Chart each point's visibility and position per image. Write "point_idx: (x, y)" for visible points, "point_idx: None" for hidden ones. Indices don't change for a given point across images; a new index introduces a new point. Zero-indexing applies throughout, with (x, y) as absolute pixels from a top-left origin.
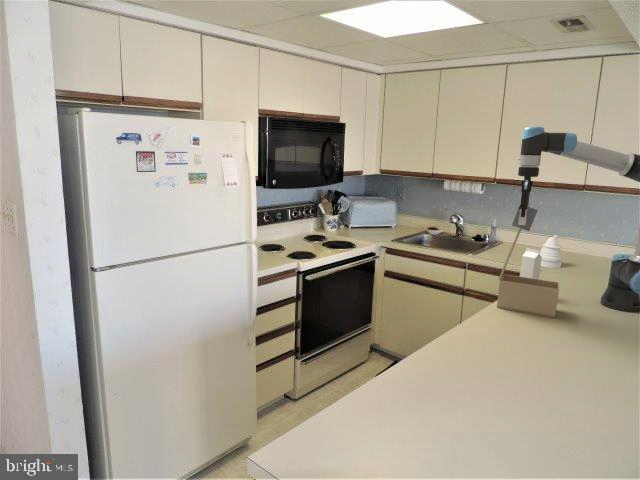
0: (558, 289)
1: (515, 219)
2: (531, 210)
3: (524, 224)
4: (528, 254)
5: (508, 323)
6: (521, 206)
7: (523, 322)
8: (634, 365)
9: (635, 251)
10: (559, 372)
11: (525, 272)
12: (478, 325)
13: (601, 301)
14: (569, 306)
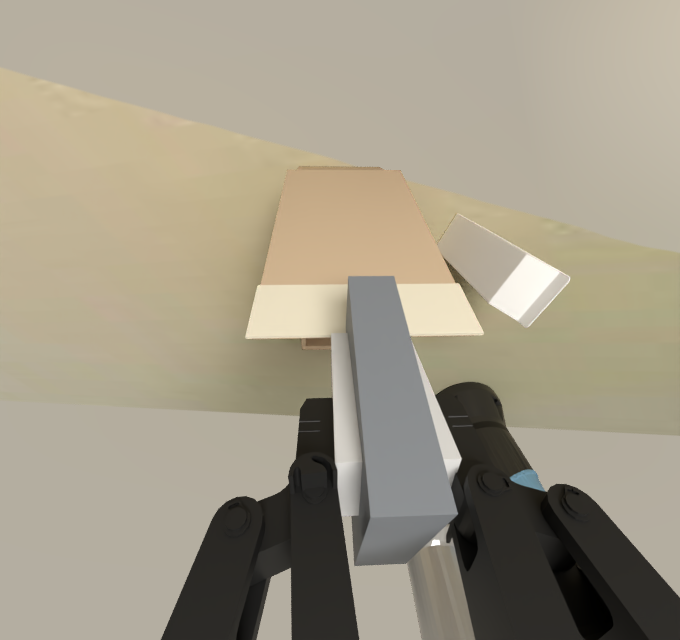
0: (302, 348)
1: (352, 331)
2: (357, 529)
3: (331, 377)
4: (526, 280)
5: (187, 214)
6: (215, 533)
7: (223, 248)
8: (154, 408)
9: (437, 556)
10: (10, 322)
11: (479, 251)
12: (101, 135)
13: (463, 386)
14: None
